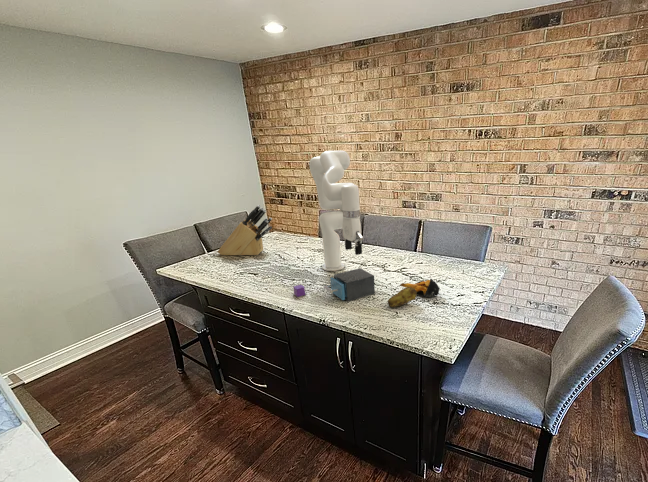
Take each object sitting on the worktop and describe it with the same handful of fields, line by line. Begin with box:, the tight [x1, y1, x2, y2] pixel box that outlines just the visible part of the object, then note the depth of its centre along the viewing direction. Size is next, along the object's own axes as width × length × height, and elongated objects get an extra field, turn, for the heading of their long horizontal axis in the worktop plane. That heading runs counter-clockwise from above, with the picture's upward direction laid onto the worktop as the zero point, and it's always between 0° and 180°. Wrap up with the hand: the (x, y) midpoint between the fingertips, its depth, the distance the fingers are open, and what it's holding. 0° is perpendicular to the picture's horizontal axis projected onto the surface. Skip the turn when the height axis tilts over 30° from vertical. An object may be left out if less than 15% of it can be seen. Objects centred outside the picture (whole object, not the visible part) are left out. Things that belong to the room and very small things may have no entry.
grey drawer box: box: [333, 267, 376, 302], centre depth 159 cm, size 15×13×9 cm
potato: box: [387, 287, 417, 308], centre depth 146 cm, size 8×13×8 cm, turn 93°
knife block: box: [217, 204, 273, 256], centre depth 216 cm, size 11×35×31 cm, turn 89°
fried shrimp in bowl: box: [399, 278, 441, 298], centre depth 156 cm, size 9×11×18 cm
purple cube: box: [292, 284, 306, 298], centre depth 159 cm, size 4×4×4 cm
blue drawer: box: [323, 276, 347, 301], centre depth 156 cm, size 18×11×7 cm, turn 125°
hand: (353, 251), depth 154 cm, fingers open, 9 cm apart
